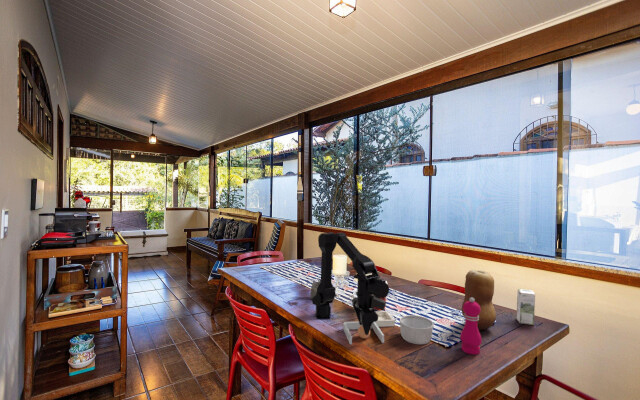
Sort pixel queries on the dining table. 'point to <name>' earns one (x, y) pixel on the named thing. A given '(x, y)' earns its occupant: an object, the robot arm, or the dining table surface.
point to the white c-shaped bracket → (356, 325)
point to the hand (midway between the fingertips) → (363, 329)
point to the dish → (384, 319)
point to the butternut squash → (481, 296)
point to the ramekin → (416, 329)
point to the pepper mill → (471, 328)
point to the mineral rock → (315, 289)
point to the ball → (362, 332)
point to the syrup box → (525, 306)
